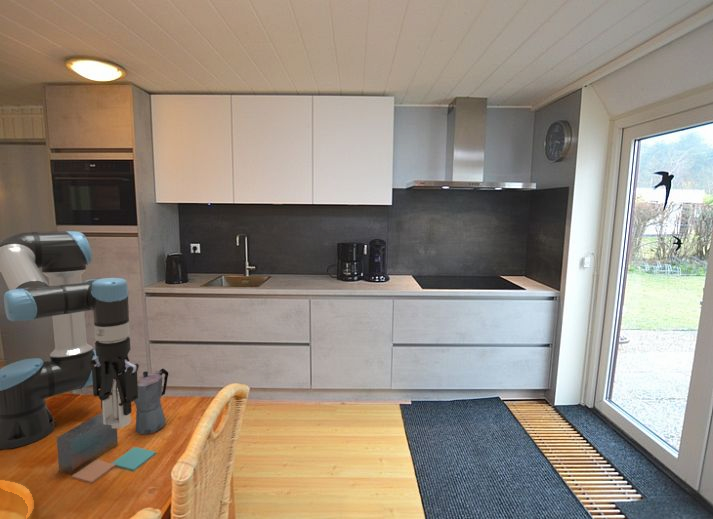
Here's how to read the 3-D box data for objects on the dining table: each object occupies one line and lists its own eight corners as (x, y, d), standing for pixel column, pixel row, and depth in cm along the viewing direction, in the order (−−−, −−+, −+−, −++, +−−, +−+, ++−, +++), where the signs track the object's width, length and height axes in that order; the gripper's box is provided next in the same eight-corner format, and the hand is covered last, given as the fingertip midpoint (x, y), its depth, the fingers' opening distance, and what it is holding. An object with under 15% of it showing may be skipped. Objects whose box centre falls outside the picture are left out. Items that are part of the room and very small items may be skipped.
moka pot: (120, 437, 118) (117, 377, 116) (156, 412, 133) (154, 359, 131) (144, 442, 116) (142, 382, 113) (179, 416, 131) (177, 362, 128)
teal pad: (111, 465, 105) (111, 463, 105) (134, 448, 113) (134, 446, 113) (133, 471, 103) (133, 469, 103) (156, 453, 111) (156, 451, 111)
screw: (131, 424, 99) (113, 433, 94) (121, 418, 101) (102, 427, 96) (129, 378, 97) (110, 385, 93) (118, 373, 99) (99, 380, 95)
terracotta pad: (72, 478, 100) (71, 476, 100) (96, 461, 107) (96, 459, 106) (92, 483, 98) (92, 481, 98) (115, 466, 105) (115, 464, 105)
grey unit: (57, 470, 102) (55, 437, 101) (104, 441, 116) (102, 411, 115) (72, 474, 101) (70, 440, 100) (117, 444, 114) (116, 414, 113)
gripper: (71, 339, 93) (77, 425, 96) (128, 348, 89) (132, 438, 92) (99, 330, 100) (103, 410, 103) (152, 338, 96) (155, 421, 99)
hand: (117, 423), depth 97 cm, fingers closed on screw, 5 cm apart
